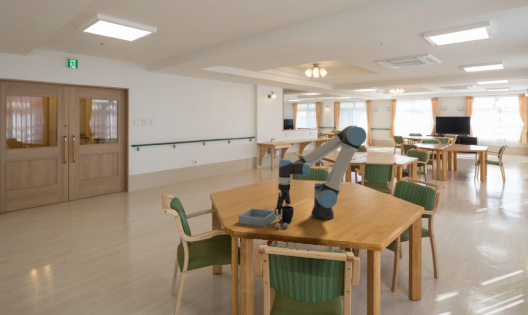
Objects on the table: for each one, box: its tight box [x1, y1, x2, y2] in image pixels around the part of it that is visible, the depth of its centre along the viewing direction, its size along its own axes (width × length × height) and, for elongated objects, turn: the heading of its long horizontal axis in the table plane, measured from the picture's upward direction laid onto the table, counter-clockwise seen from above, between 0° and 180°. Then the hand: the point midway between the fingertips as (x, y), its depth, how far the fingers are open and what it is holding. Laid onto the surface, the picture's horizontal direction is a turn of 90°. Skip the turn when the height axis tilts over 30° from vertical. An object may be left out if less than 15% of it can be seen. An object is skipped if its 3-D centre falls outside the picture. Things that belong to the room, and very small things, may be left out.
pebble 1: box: [274, 222, 281, 230], centre depth 195 cm, size 3×3×3 cm
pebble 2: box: [282, 223, 289, 229], centre depth 195 cm, size 3×3×3 cm
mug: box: [274, 205, 295, 224], centre depth 208 cm, size 8×12×10 cm
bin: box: [238, 207, 277, 228], centre depth 210 cm, size 18×20×5 cm
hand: (283, 216), depth 208 cm, fingers open, 13 cm apart
